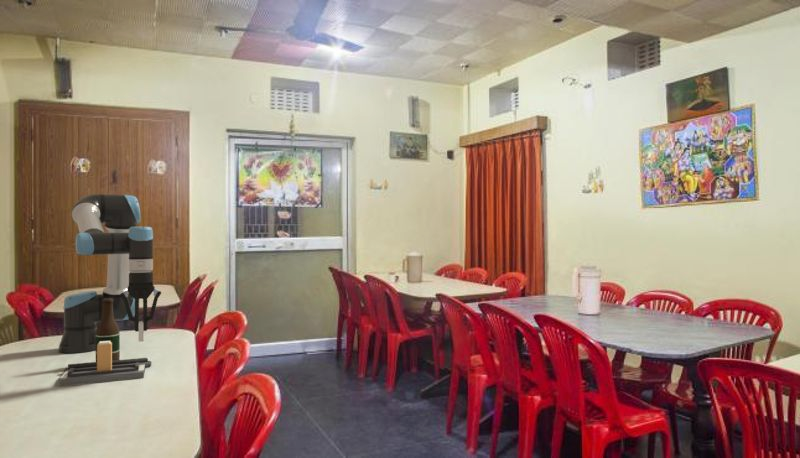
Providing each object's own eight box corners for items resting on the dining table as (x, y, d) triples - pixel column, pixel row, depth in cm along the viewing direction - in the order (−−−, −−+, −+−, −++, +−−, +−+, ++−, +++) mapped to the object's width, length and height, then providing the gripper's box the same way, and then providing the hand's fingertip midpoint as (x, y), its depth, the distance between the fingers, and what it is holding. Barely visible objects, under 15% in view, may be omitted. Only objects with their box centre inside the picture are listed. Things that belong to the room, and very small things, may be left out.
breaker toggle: (98, 369, 183) (98, 341, 183) (112, 368, 184) (112, 340, 184) (97, 372, 179) (97, 343, 179) (110, 371, 181) (110, 342, 181)
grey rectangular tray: (66, 376, 183) (66, 366, 183) (145, 369, 192) (145, 359, 192) (59, 386, 172) (59, 375, 172) (143, 377, 181) (143, 367, 181)
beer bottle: (109, 367, 195) (109, 300, 195) (90, 366, 197) (90, 299, 197) (124, 361, 203) (124, 297, 203) (106, 361, 204) (106, 297, 204)
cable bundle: (63, 375, 184) (63, 365, 184) (65, 372, 188) (65, 363, 188) (151, 367, 195) (151, 358, 195) (151, 365, 198) (151, 356, 198)
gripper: (118, 273, 180) (118, 344, 180) (161, 271, 185) (161, 341, 185) (120, 271, 187) (120, 340, 187) (161, 270, 192) (162, 337, 192)
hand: (141, 340), depth 186 cm, fingers closed
